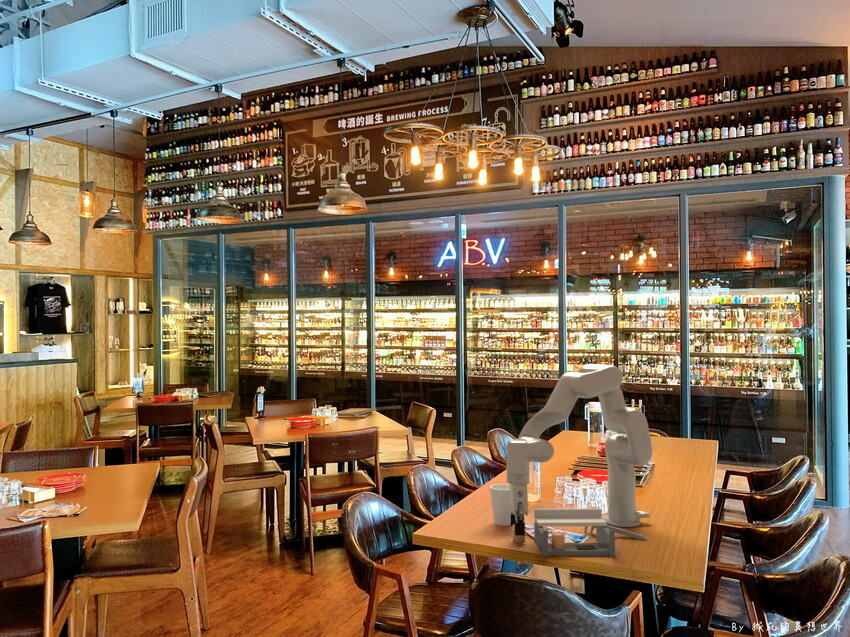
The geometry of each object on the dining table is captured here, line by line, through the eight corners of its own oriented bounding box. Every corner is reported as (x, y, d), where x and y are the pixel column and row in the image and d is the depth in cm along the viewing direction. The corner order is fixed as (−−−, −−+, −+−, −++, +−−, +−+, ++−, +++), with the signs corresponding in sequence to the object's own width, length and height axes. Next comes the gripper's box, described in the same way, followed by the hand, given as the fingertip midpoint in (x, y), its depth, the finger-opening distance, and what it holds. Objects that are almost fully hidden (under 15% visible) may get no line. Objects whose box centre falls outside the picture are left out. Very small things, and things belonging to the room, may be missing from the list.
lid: (600, 519, 208) (600, 508, 208) (606, 526, 201) (606, 514, 201) (534, 519, 208) (534, 508, 208) (538, 526, 201) (538, 514, 201)
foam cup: (520, 521, 229) (520, 485, 229) (510, 528, 221) (510, 491, 221) (496, 517, 234) (496, 482, 234) (485, 524, 226) (485, 488, 226)
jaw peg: (523, 540, 208) (523, 523, 208) (525, 544, 204) (525, 527, 204) (511, 540, 208) (511, 523, 208) (513, 544, 204) (513, 527, 204)
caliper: (584, 533, 216) (584, 515, 216) (585, 532, 217) (584, 514, 217) (647, 541, 208) (647, 521, 208) (647, 540, 209) (647, 521, 209)
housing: (600, 540, 208) (600, 515, 208) (614, 556, 193) (614, 530, 193) (534, 540, 208) (534, 516, 208) (543, 556, 193) (543, 530, 193)
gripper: (534, 484, 198) (533, 539, 197) (525, 472, 215) (524, 523, 215) (510, 484, 198) (509, 538, 197) (503, 472, 215) (502, 522, 215)
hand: (517, 530), depth 206 cm, fingers open, 9 cm apart
